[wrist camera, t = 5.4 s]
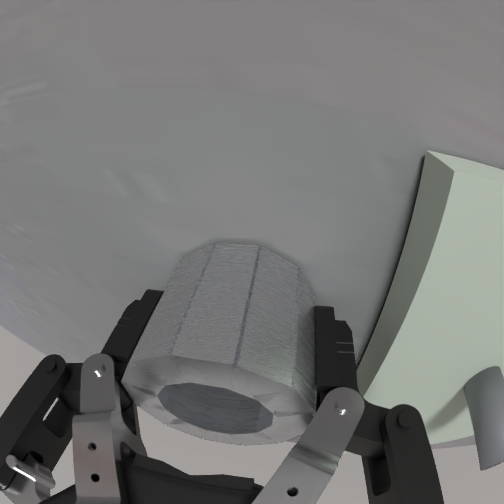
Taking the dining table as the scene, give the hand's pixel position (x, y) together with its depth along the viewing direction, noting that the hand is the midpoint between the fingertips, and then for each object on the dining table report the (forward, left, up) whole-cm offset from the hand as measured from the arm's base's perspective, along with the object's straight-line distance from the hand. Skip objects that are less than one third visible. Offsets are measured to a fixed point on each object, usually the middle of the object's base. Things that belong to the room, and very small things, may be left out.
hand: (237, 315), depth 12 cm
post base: (+3, +13, -1) cm, 13 cm away
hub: (0, 0, -1) cm, 1 cm away
